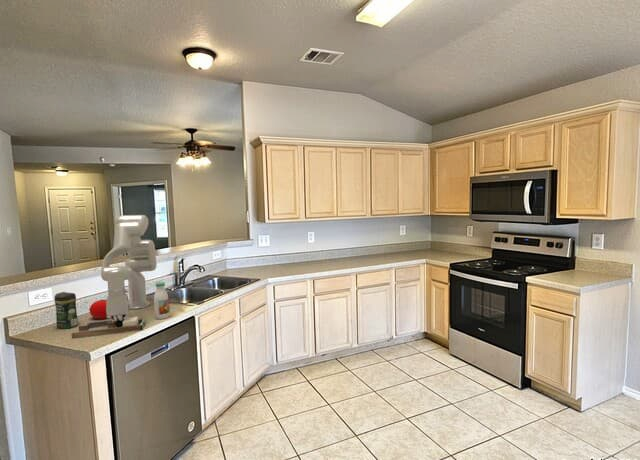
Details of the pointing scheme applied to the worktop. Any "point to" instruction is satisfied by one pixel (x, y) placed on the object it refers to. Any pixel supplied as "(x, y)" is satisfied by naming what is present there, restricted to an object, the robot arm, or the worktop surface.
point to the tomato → (98, 309)
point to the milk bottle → (161, 302)
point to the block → (130, 321)
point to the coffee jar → (66, 310)
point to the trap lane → (106, 331)
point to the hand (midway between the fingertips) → (119, 327)
